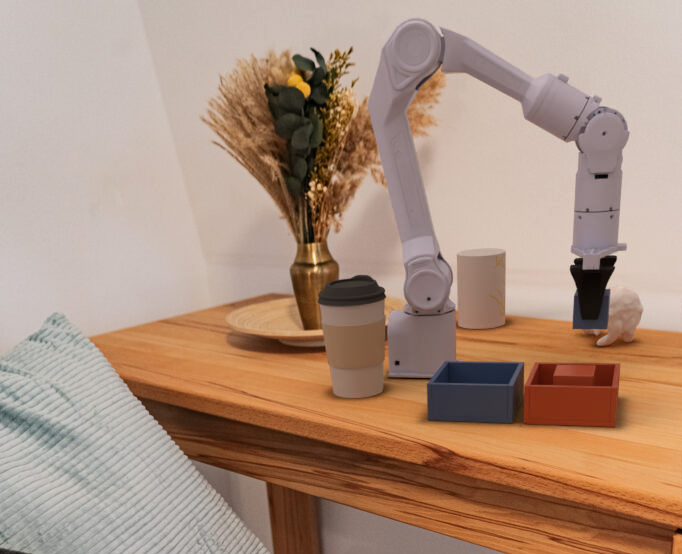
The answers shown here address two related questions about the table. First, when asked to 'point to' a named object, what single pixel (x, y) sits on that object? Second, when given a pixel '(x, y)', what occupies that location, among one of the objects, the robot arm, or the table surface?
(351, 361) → the coffee cup
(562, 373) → the terracotta block
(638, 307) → the white animal figurine
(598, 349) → the table surface
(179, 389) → the table surface
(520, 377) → the blue bin
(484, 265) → the cup
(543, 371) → the terracotta bin
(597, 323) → the blue block
